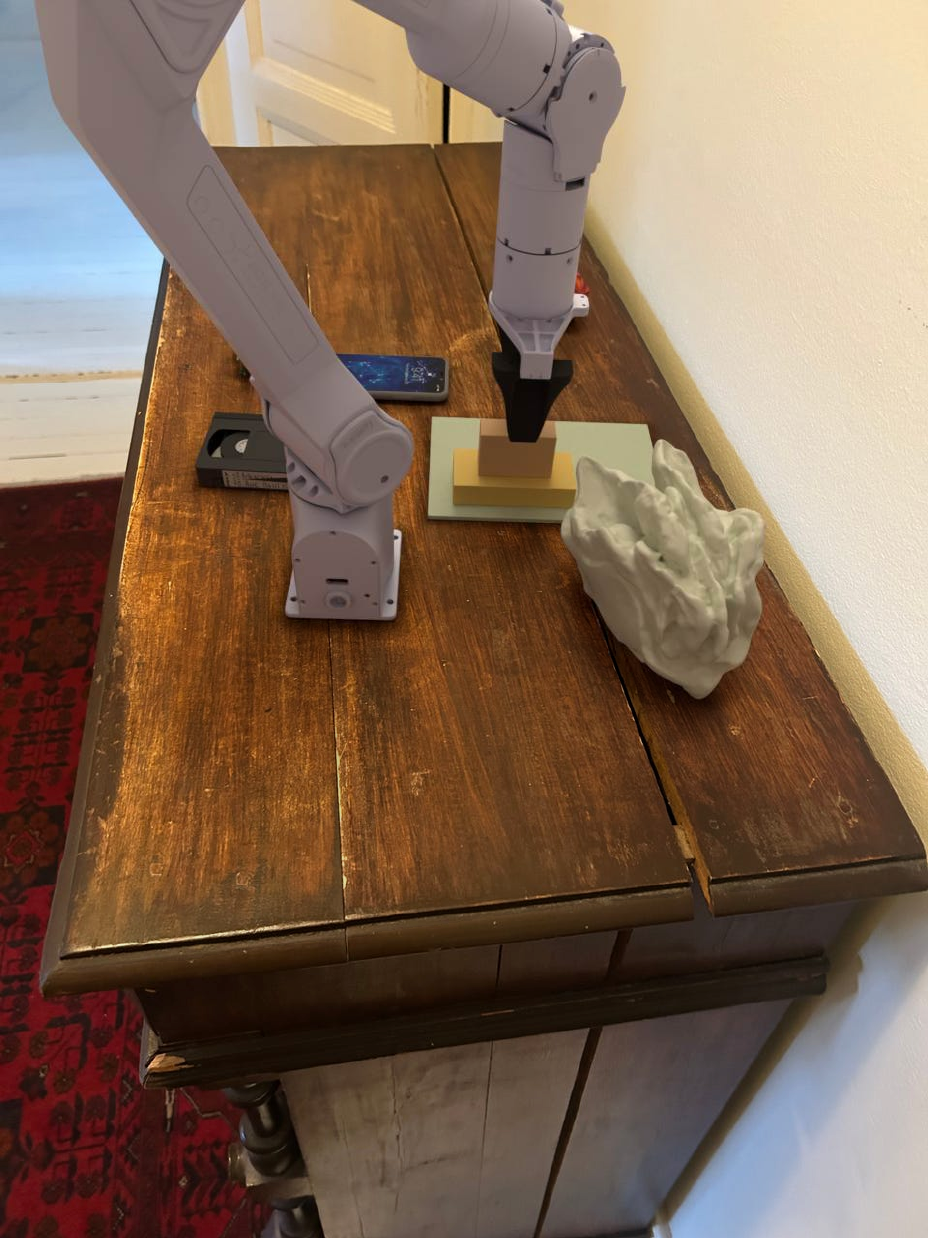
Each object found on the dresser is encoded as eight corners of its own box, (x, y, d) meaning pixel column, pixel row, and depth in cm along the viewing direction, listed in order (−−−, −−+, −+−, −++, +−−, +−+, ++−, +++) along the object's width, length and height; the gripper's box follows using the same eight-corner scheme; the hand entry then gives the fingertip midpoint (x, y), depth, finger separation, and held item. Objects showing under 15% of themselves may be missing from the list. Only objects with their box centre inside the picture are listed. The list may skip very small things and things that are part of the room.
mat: (670, 527, 71) (672, 523, 71) (427, 519, 71) (427, 515, 70) (646, 427, 81) (647, 424, 81) (431, 419, 80) (431, 416, 80)
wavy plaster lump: (580, 638, 71) (543, 455, 66) (739, 605, 70) (716, 416, 64) (609, 757, 55) (563, 527, 49) (818, 718, 54) (797, 476, 48)
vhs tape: (197, 486, 72) (193, 466, 71) (218, 430, 78) (215, 411, 76) (368, 495, 72) (367, 476, 71) (377, 439, 78) (377, 420, 76)
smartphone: (297, 349, 86) (449, 355, 86) (298, 358, 86) (449, 364, 87) (286, 389, 80) (448, 395, 81) (287, 398, 81) (448, 404, 82)
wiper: (573, 508, 72) (583, 448, 67) (452, 504, 71) (455, 444, 67) (568, 471, 75) (578, 411, 71) (452, 467, 75) (455, 407, 70)
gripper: (611, 290, 53) (580, 469, 63) (587, 194, 63) (564, 362, 73) (496, 286, 53) (483, 466, 63) (490, 190, 63) (480, 359, 73)
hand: (520, 410), depth 68 cm, fingers open, 7 cm apart
